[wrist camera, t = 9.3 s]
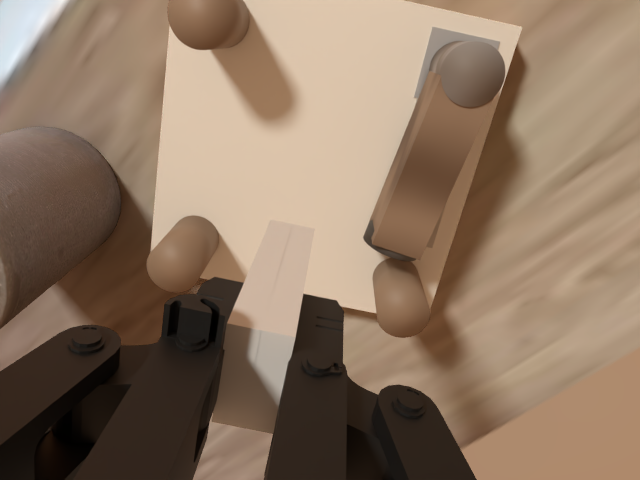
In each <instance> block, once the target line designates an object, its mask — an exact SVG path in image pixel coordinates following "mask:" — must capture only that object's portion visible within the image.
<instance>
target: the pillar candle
mask: <svg viewBox="0 0 640 480" xmlns="http://www.w3.org/2000/svg"><path fill="white" fill-rule="evenodd" d="M120 211H121V198H120V190H119V186H118V183H117V180H116V178H115V175H114V173H113V171H112V169H111V168H110V166H109V165H108V163H107V161H106V160H105V159H104V157H103V156H102V155H101V154H100V153H99V152H98V151H97V150H96V149H95V148H94V147H93V146H92V145H91V144H90V143H88V142H87V141H85V140H84V139H82V138H80V137H79V136H77V135H75V134H73V133H71V132H68V131H66V130H62V129H57V128H48V127H30V128H23V129H19V130H15V131H11V132H7V133H4V134H0V329H1V328H2V327H3V326H4V325H6V324H7V323H8V322H9V321H10V320H11V319H13V318H14V317H15V316H16V315H17V314H18V313H20V312H21V311H22V310H23V309H24V308H26V307H27V306H28V305H29V304H30V303H32V302H33V301H34V300H35V299H36V298H37V297H39V296H40V295H41V294H42V293H44V292H45V291H46V290H47V289H48V288H49V287H51V286H52V285H53V284H55V283H56V282H57V281H59V280H60V279H61V278H62V277H63V276H64V275H66V274H67V273H68V272H69V271H70V270H71V269H73V268H74V267H75V266H76V265H77V264H79V263H80V262H81V261H82V260H83V259H85V258H86V257H87V256H88V255H89V254H90V253H92V252H93V251H94V250H95V249H97V248H98V247H99V246H100V245H101V244H102V243H103V242H105V241H106V240H107V239H108V237H109V236H110V235H111V233H112V232H113V230H114V228H115V226H116V224H117V222H118V219H119V215H120Z"/></svg>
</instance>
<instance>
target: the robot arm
mask: <svg viewBox="0 0 640 480" xmlns="http://www.w3.org/2000/svg"><path fill="white" fill-rule="evenodd" d="M314 230H315V229H313V228H309V227H304V226H299V225H294V224H290V223H285V222H280V221H275V220H270V222H269V225H268V227H267V229H266V232H265V234H264V237H263V239H262V241H261V244H260V246H259V248H258V251H257V253H256V256H255V258H254V260H253V263H252V265H251V267H250V270H249V272H248V274H247V277H246V279H245V282H244V283H243V282H238V281H233V280H228V279H223V278H218V277H213V278H211V279H210V280H208V281H206V282H204V283H203V284H202V285H201V287H200V289H199V290H198V292H197V295H195V294H188V295H179V296H177V297H174V298H171V299H170V300H168V301H167V302H166V303H165V305H164V315H163V325H162V336H161V338H160V339H159V341H158V342H157V343H154V344H149V345H139V346H120V345H121V339H120V337H119V336H118V334H117V333H116V332H114V331H113V330H111V329H109V328H106V327H102V326H97V325H82V326H77V327H72V328H69V329H67V330H65V331H63V332H61V333H59V334H57V335H56V336H54V337H53V338H51V339H50V340H48V341H47V342H45V343H43V344H42V345H40V346H39V347H37V348H36V349H34V350H33V351H31V352H30V353H28V354H26V355H25V356H23V357H22V358H20V359H19V360H17V361H16V362H14V363H13V364H11V365H9V366H8V367H6V368H5V369H3V370H2V371H0V480H193V477H194V474H195V471H196V468H197V465H198V462H199V459H200V457H201V454H202V451H203V448H204V445H205V442H206V439H207V434H208V427H209V421H210V418H211V416H212V413H213V417H212V422H216V423H221V424H226V425H232V426H237V427H242V428H247V429H252V430H257V431H262V432H267V433H272V434H273V437H272V442H271V447H270V451H269V456H268V461H267V465H266V470H265V474H264V476H265V477H264V480H477V479H476V478H475V476H474V474H473V472H472V470H471V468H470V467H469V465H468V463H467V461H466V459H465V458H464V455H463V454H462V452H461V450H460V448H459V446H458V444H457V443H456V441H455V439H454V437H453V435H452V433H451V432H450V430H449V428H448V426H447V424H446V422H445V421H444V419H443V417H442V415H441V413H440V411H439V410H438V408H437V406H436V405H435V404H434V402H433V401H432V400H431V399H430V398H429V397H428V396H426V395H425V394H424V393H422V392H421V391H418V390H416V389H414V388H411V387H408V386H402V385H392V386H387V387H385V388H384V389H382V390H381V391H380V393H379V395H377V394H375V393H373V392H370V391H368V390H366V389H364V388H362V387H360V386H358V385H357V384H356V383H355V382H353V381H352V380H351V379H350V378H349V377H348V376H347V370H346V367H345V365H344V364H343V321H344V311H343V309H342V308H341V306H340V305H339V303H338V302H337V300H332V299H327V298H322V297H317V296H312V295H308V294H303V292H304V287H305V281H306V275H307V270H308V264H309V259H310V253H311V247H312V242H313V236H314Z"/></svg>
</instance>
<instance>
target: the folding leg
mask: <svg viewBox="0 0 640 480" xmlns="http://www.w3.org/2000/svg"><path fill="white" fill-rule="evenodd" d="M504 78H505V64H504V60H503V58H502V56H501V54H500V53H499V51H498V50H497V49H496V48H495V47H493V46H492V45H490V44H488V43H484V42H477V41H453V42H450V43H448V44H446V45H444V46H442V47H441V48H440V49H439V50H438V51H437V52H436V53H435V55H434V56H433V58H432V60H431V63H430V67H429V73H428V75H427V78H426V80H425V83H424V85H423V88H422V90H421V93H420V95H419V98H418V100H417V103H416V105H415V108H414V110H413V113H412V115H411V118H410V120H409V123H408V125H407V128H406V130H405V133H404V135H403V138H402V140H401V143H400V145H399V148H398V150H397V153H396V155H395V158H394V160H393V163H392V165H391V168H390V170H389V173H388V175H387V178H386V180H385V183H384V185H383V188H382V190H381V193H380V195H379V198H378V200H377V203H376V205H375V208H374V210H373V213H372V215H371V218H370V220H369V223H368V226H367V228H366V231H365V233H364V236H363V239H364V241H365V242H366V243H367V244H368V245H369V246H370V247H371V248H373V249H374V250H376V251H377V252H379V253H381V254H383V255H386V256H388V257H391V258H394V259H397V260H401V261H415V260H416V259H418V260H420V259H421V257H422V255H423V252H424V250H425V248H426V246H427V244H428V241H429V239H430V237H431V235H432V233H433V230H434V228H435V226H436V224H437V222H438V219H439V217H440V215H441V213H442V211H443V208H444V206H445V204H446V202H447V200H448V198H449V195H450V193H451V191H452V189H453V187H454V184H455V182H456V180H457V178H458V176H459V173H460V171H461V169H462V167H463V165H464V162H465V160H466V158H467V156H468V154H469V151H470V149H471V147H472V145H473V143H474V140H475V138H476V136H477V134H478V132H479V129H480V127H481V125H482V123H483V121H484V118H485V116H486V114H487V112H488V110H489V107H490V105H491V103H492V101H493V99H494V97H495V96H496V94H497V93H498V92H499V90H500V89H501V87H502V85H503V82H504Z"/></svg>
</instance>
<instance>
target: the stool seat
mask: <svg viewBox="0 0 640 480" xmlns="http://www.w3.org/2000/svg"><path fill="white" fill-rule="evenodd" d="M167 13H168V20H169V24H170V28H169V40H168V51H167V63H166V75H165V87H164V99H163V110H162V122H161V134H160V146H159V157H158V169H157V181H156V193H155V205H154V216H153V228H152V240H151V252H150V254H149V256H148V259H147V272H148V274H149V276H150V278H151V280H152V281H153V282H154V283H155V284H156V285H157V286H158V287H160V288H162V289H163V290H166V291H169V292H176V293H178V292H184V291H187V290H189V289H191V288H192V287H193V286H194V285H195V284H196V283H197V281H198V280H199V278H202V279H207V280H210V279H211V278H213V277H218V278H223V279H228V280H233V281H238V282H243V283H244V282H245V279H246V277H247V274H248V272H249V270H250V267H251V265H252V263H253V260H254V258H255V256H256V253H257V251H258V248H259V246H260V244H261V241H262V239H263V237H264V234H265V232H266V229H267V227H268V225H269V222H270V220H275V221H280V222H285V223H290V224H294V225H299V226H304V227H309V228H313V229H315V230H314V236H313V242H312V247H311V253H310V259H309V264H308V270H307V275H306V281H305V287H304V292H303V294H308V295H312V296H317V297H322V298H327V299H332V300H337V302H338V303H339V305H340V306H342V307H347V308H352V309H357V310H362V311H367V312H372V313H376V314H377V320H378V323H379V325H380V327H381V328H382V329H383V330H384V331H385V332H386V333H388V334H390V335H392V336H395V337H401V338H404V337H411V336H414V335H416V334H418V333H419V332H421V331H422V330H423V329H424V328H425V327H426V326H427V324H428V322H429V319H430V309H431V306H432V303H433V300H434V296H435V293H436V290H437V287H438V284H439V281H440V278H441V275H442V272H443V269H444V266H445V263H446V260H447V257H448V254H449V250H450V247H451V244H452V241H453V238H454V235H455V232H456V229H457V226H458V223H459V220H460V217H461V214H462V211H463V208H464V204H465V201H466V198H467V195H468V192H469V189H470V186H471V183H472V180H473V177H474V174H475V171H476V168H477V165H478V161H479V158H480V155H481V152H482V149H483V146H484V143H485V140H486V137H487V134H488V131H489V128H490V125H491V122H492V119H493V115H494V112H495V109H496V106H497V103H498V100H499V97H500V94H501V91H502V88H503V85H504V82H505V79H506V76H507V72H508V69H509V66H510V63H511V60H512V57H513V54H514V51H515V48H516V45H517V42H518V39H519V36H520V33H521V30H522V27H520V26H516V25H512V24H507V23H503V22H498V21H494V20H489V19H485V18H480V17H476V16H471V15H467V14H462V13H458V12H453V11H449V10H444V9H440V8H435V7H431V6H426V5H422V4H417V3H413V2H408V1H404V0H169V3H168V11H167ZM453 41H477V42H484V43H488V44H490V45H492V46H493V47H495V48H496V49H497V50H498V51H499V53H500V54H501V56H502V58H503V60H504V64H505V78H504V82H503V85H502V87H501V89H500V90H499V92H498V93H497V94H496V96H495V97H494V99H493V101H492V103H491V105H490V107H489V110H488V112H487V114H486V116H485V118H484V121H483V123H482V125H481V127H480V129H479V132H478V134H477V136H476V138H475V140H474V143H473V145H472V147H471V149H470V151H469V154H468V156H467V158H466V160H465V162H464V165H463V167H462V169H461V171H460V173H459V176H458V178H457V180H456V182H455V184H454V187H453V189H452V191H451V193H450V195H449V198H448V200H447V202H446V204H445V206H444V208H443V211H442V213H441V215H440V217H439V219H438V222H437V224H436V226H435V228H434V230H433V233H432V235H431V237H430V239H429V241H428V244H427V246H426V248H425V250H424V252H423V255H422V257H421V259H420V260H418V259H416V260H415V261H401V260H397V259H394V258H391V257H388V256H386V255H383V254H381V253H379V252H377V251H376V250H374V249H373V248H371V247H370V246H369V245H368V244H367V243H366V242H365V241H364V239H363V236H364V233H365V231H366V228H367V226H368V223H369V220H370V218H371V215H372V213H373V210H374V208H375V205H376V203H377V200H378V198H379V195H380V193H381V190H382V188H383V185H384V183H385V180H386V178H387V175H388V173H389V170H390V168H391V165H392V163H393V160H394V158H395V155H396V153H397V150H398V148H399V145H400V143H401V140H402V138H403V135H404V133H405V130H406V128H407V125H408V123H409V120H410V118H411V115H412V113H413V110H414V108H415V105H416V103H417V100H418V98H419V95H420V93H421V90H422V88H423V85H424V83H425V80H426V78H427V75H428V73H429V67H430V63H431V60H432V58H433V56H434V55H435V53H436V52H437V51H438V50H439V49H440V48H441V47H442V46H444V45H446V44H448V43H450V42H453Z"/></svg>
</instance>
